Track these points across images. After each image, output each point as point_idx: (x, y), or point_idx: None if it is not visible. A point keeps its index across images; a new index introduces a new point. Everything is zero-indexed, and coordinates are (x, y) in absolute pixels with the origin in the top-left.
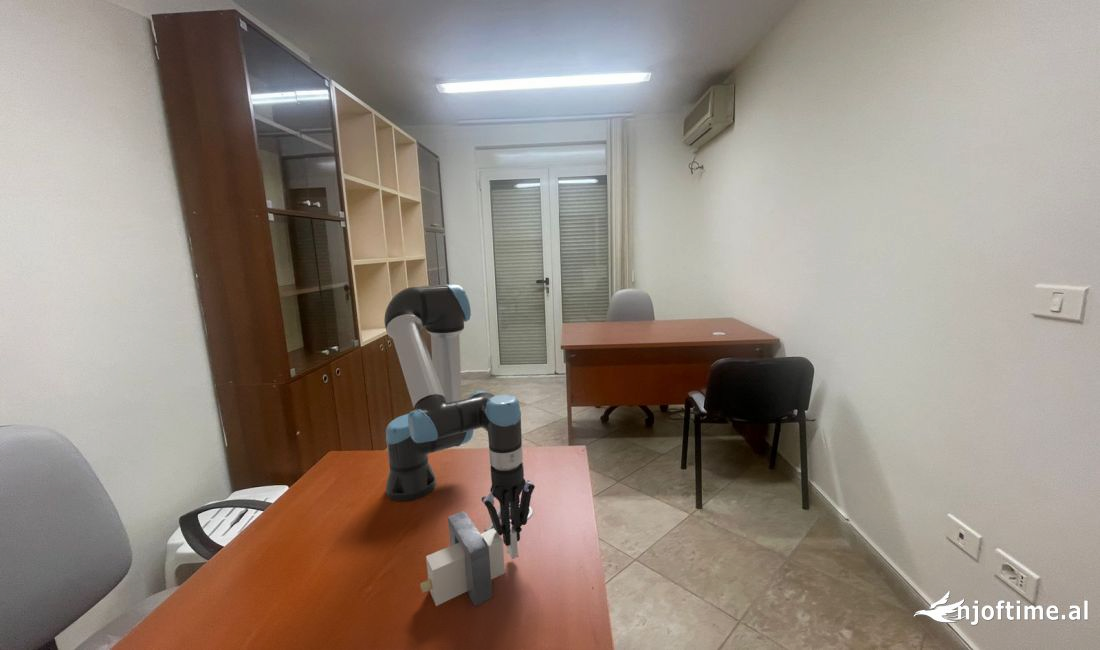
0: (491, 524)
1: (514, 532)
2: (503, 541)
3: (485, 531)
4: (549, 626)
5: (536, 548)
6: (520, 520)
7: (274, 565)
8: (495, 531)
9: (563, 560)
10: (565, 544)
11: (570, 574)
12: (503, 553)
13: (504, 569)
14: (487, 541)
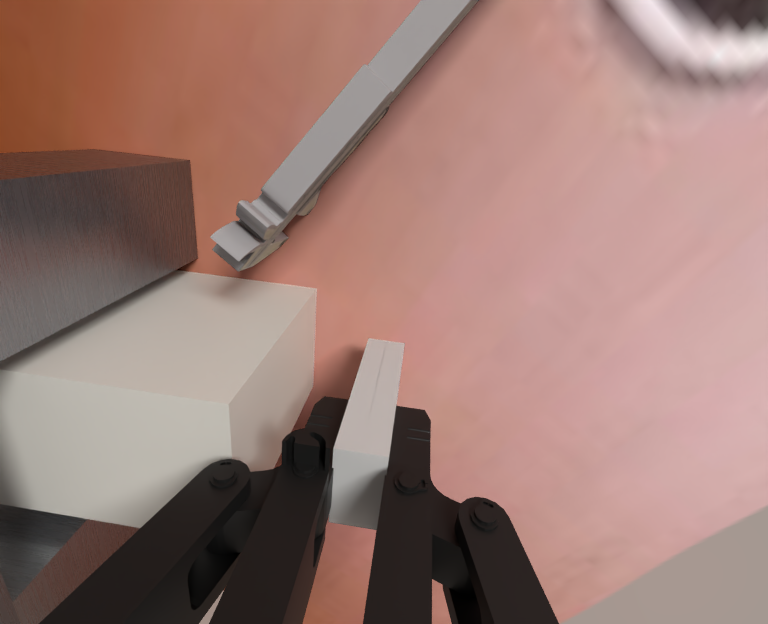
0: (401, 48)
1: (364, 523)
2: (314, 408)
3: (248, 219)
4: (324, 618)
5: (538, 366)
6: (445, 576)
7: None
8: (226, 447)
9: (569, 498)
10: (671, 442)
11: (527, 556)
12: (276, 461)
13: (307, 396)
14: (131, 487)
